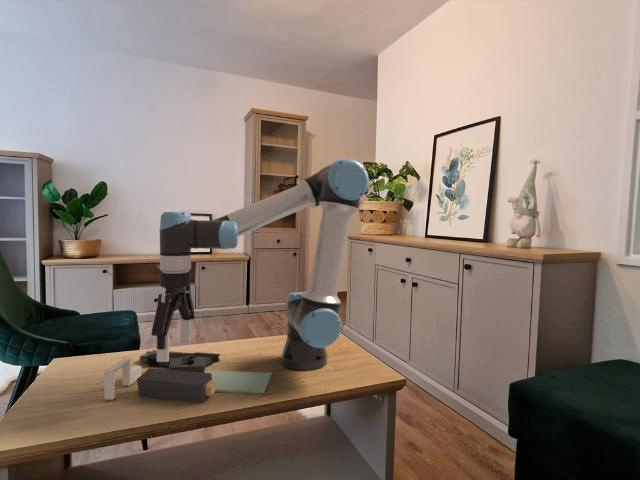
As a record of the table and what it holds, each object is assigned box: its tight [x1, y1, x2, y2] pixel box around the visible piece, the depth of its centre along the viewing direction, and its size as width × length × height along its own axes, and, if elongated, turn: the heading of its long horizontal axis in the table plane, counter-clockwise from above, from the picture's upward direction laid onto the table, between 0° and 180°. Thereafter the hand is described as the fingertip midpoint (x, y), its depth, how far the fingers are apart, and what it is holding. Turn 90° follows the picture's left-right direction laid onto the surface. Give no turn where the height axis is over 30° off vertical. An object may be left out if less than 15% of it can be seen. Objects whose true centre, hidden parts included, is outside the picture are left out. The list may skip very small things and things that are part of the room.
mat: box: [204, 370, 273, 394], centre depth 103 cm, size 26×12×1 cm, turn 88°
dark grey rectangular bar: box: [136, 367, 216, 404], centre depth 95 cm, size 20×5×5 cm, turn 81°
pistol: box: [139, 349, 221, 373], centre depth 114 cm, size 2×26×15 cm
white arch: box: [103, 357, 142, 400], centre depth 99 cm, size 2×14×7 cm, turn 178°
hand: (175, 351), depth 95 cm, fingers open, 13 cm apart
